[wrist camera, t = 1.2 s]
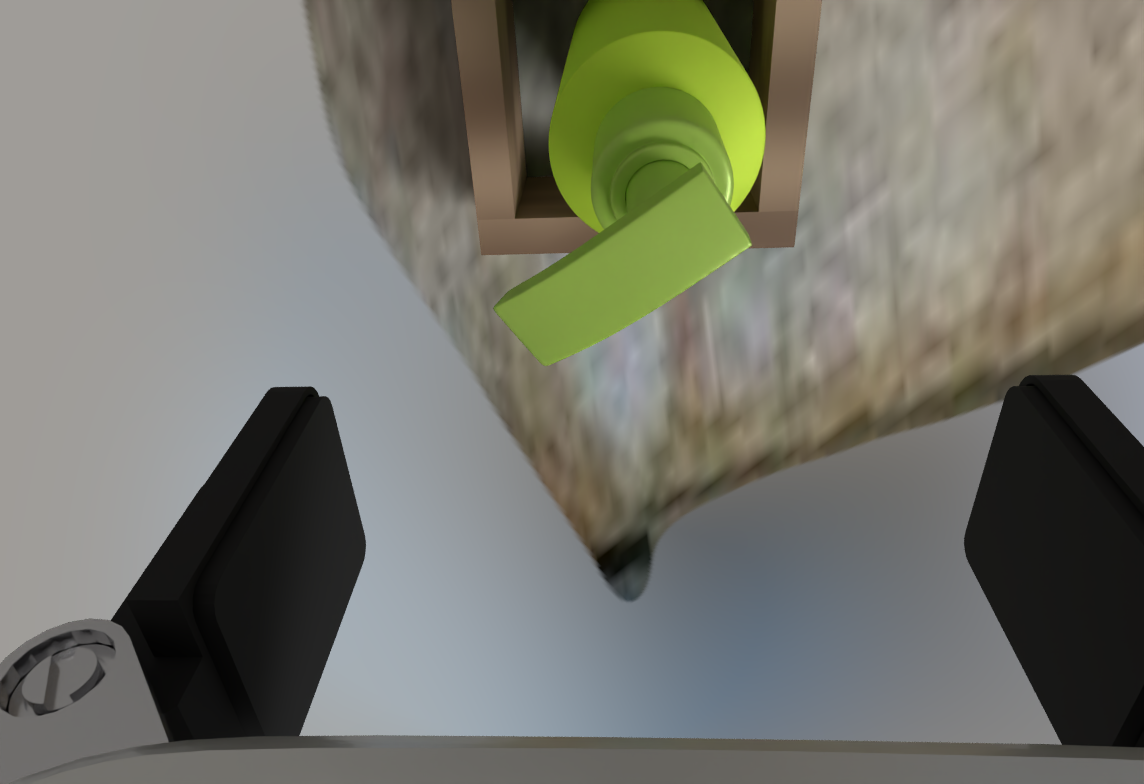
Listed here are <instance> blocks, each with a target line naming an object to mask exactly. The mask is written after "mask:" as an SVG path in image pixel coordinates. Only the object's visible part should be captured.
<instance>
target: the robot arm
mask: <svg viewBox="0 0 1144 784" xmlns="http://www.w3.org/2000/svg"><path fill="white" fill-rule="evenodd" d="M964 546H965V553H966V557H967V560H968V562H969V564H970V566H971V568H972V570H973V572H974V574H975V576H976V578H977V580H978V582H979V584H980V586H981V588H982V590H983V591H984V594H985V595H986V597H987V599H988V601H989V603H990V605H991V607H992V609H993V611H994V613H995V615H996V617H997V619H998V621H999V623H1000V624H1001V627H1002V628H1003V631H1004V632H1005V634H1006V636H1007V638H1008V640H1009V642H1010V644H1011V646H1012V648H1013V650H1014V652H1015V654H1016V656H1017V658H1018V660H1019V662H1020V663H1021V665H1022V668H1023V669H1024V671H1025V673H1026V675H1027V677H1028V679H1029V681H1030V683H1031V685H1032V687H1033V689H1034V691H1035V692H1036V694H1037V697H1038V699H1039V700H1040V702H1041V704H1042V706H1043V708H1044V710H1045V712H1046V714H1047V716H1048V718H1049V720H1050V722H1051V724H1052V726H1053V728H1054V730H1055V732H1056V734H1057V736H1058V738H1059V740H1060V741H1061V743H1062V745H1050V744H1003V743H1001V744H1000V743H950V742H949V743H948V742H893V741H842V740H839V741H838V740H774V739H701V738H700V739H699V738H696V739H695V738H622V737H619V738H618V737H517V736H516V737H515V736H386V735H385V736H383V735H373V736H299V735H300V733H301V730H302V727H303V724H304V722H305V719H306V716H307V713H308V711H309V708H310V705H311V703H312V700H313V697H314V695H315V692H316V689H317V686H318V684H319V681H320V678H321V676H322V673H323V670H324V667H325V665H326V662H327V659H328V657H329V654H330V651H331V648H332V646H333V643H334V640H335V638H336V635H337V632H338V630H339V627H340V624H341V621H342V619H343V616H344V613H345V611H346V608H347V605H348V602H349V600H350V597H351V594H352V592H353V588H354V586H355V583H356V581H357V578H358V575H359V573H360V570H361V567H362V564H363V561H364V557H365V549H366V540H365V535H364V530H363V526H362V522H361V518H360V515H359V510H358V506H357V503H356V499H355V495H354V491H353V487H352V483H351V479H350V475H349V471H348V467H347V463H346V459H345V455H344V451H343V447H342V443H341V439H340V435H339V431H338V427H337V423H336V419H335V416H334V411H333V407H332V404H331V401H330V400H329V398H328V397H326V396H322V397H319V395H318V392H317V391H316V390H315V389H314V388H313V387H274V388H271V389H270V390H268V392H267V393H266V394H265V396H264V397H263V399H262V400H261V402H260V403H259V405H258V406H257V408H256V409H255V411H254V412H253V414H252V415H251V416H250V418H249V419H248V421H247V422H246V424H245V425H244V427H243V428H242V430H241V431H240V433H239V434H238V436H237V437H236V439H235V440H234V442H233V443H232V445H231V446H230V447H229V449H228V450H227V452H226V453H225V455H224V456H223V458H222V459H221V461H220V462H219V464H218V465H217V467H216V468H215V470H214V471H213V472H212V474H211V475H210V477H209V479H208V480H207V481H206V483H205V484H204V485H203V486H202V487H201V489H200V490H199V491H198V493H197V494H196V496H195V497H194V499H193V500H192V502H191V503H190V505H189V506H188V508H187V509H186V511H185V512H184V513H183V515H182V517H181V518H180V519H179V521H178V522H177V524H176V525H175V527H174V528H173V530H172V531H171V533H170V534H169V535H168V537H167V539H166V540H165V541H164V543H163V544H162V546H161V547H160V549H159V550H158V552H157V553H156V555H155V556H154V558H153V559H152V561H151V562H150V564H149V565H148V566H147V568H146V569H145V571H144V572H143V574H142V575H141V577H140V578H139V580H138V581H137V583H136V584H135V586H134V587H133V588H132V590H131V592H130V593H129V594H128V596H127V597H126V599H125V600H124V602H123V603H122V605H121V606H120V608H119V609H118V610H117V612H116V613H115V615H114V616H113V618H112V619H111V621H109V620H102V619H101V620H100V619H85V620H79V621H73V622H68V623H65V624H63V625H60V626H57V627H55V628H52V629H49V630H46V631H45V632H43V633H41V634H39V635H37V636H36V637H34V638H32V639H30V640H28V641H26V642H25V643H24V644H22V645H21V646H20V647H19V648H17V649H16V650H15V651H13V652H12V653H11V654H10V655H8V656H7V657H6V658H5V659H4V660H3V661H2V662H1V664H0V784H1144V447H1143V446H1142V444H1141V443H1140V442H1139V441H1138V440H1137V439H1136V438H1135V437H1134V436H1133V435H1132V434H1131V433H1130V431H1129V430H1128V429H1127V428H1126V427H1125V426H1124V425H1123V424H1122V423H1121V422H1120V421H1119V420H1118V418H1117V417H1116V416H1115V415H1114V414H1113V413H1112V412H1111V411H1110V410H1109V409H1108V408H1107V407H1106V405H1105V404H1104V403H1103V402H1102V401H1101V400H1100V399H1099V398H1098V397H1097V396H1096V395H1095V394H1094V393H1093V391H1092V390H1091V389H1090V388H1089V387H1088V386H1087V385H1086V384H1085V383H1084V382H1083V381H1082V380H1081V379H1080V378H1079V377H1077V376H1076V375H1029V376H1027V377H1025V378H1024V379H1023V380H1022V381H1021V383H1020V385H1019V386H1013V387H1011V388H1010V389H1009V390H1008V391H1007V393H1006V396H1005V399H1004V402H1003V406H1002V409H1001V412H1000V416H999V420H998V423H997V426H996V430H995V433H994V437H993V440H992V443H991V447H990V450H989V453H988V457H987V460H986V464H985V467H984V471H983V474H982V477H981V481H980V484H979V488H978V491H977V495H976V498H975V502H974V505H973V508H972V512H971V515H970V518H969V522H968V525H967V529H966V533H965V538H964Z"/></svg>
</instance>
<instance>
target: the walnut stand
mask: <svg viewBox="0 0 1144 784" xmlns="http://www.w3.org/2000/svg"><path fill="white" fill-rule="evenodd" d="M451 4H452V12H453V21H454V29H455V37H456V46H457V54H458V62H459V71H460V79H461V88H462V96H463V104H464V113H465V121H466V129H467V138H468V146H469V155H470V163H471V171H472V180H473V188H474V196H475V205H476V213H477V222H478V230H479V238H480V247H481V255H504V254H543V253H571V252H572V251H574V250H575V249H577V248H578V247H580V246H581V245H583V244H584V243H586V242H587V241H589V240H590V239H591V238H593V237H594V236H596V235H597V234H599V233H598V232H597V231H595V230H594V229H592V228H591V227H589V226H588V225H587V224H586V223H584V222H583V221H582V220H581V219H580V218H579V217H578V216H577V215H576V214H575V213H574V212H573V210H572V209H571V208H570V207H569V205H568V204H567V202H566V201H565V199H564V198H563V196H562V194H561V192H560V190H559V188H558V186H557V184H556V181H555V178H554V176H545V177H527V172H526V160H525V147H524V135H523V122H522V110H521V98H520V85H519V73H518V61H517V48H516V36H515V24H514V11H513V0H451ZM821 5H822V0H754V8H753V22H752V37H751V51H750V65H749V77H750V79H751V81H752V82H753V84H754V86H755V88H756V90H757V93H758V95H759V98H760V101H761V104H762V108H763V112H764V118H765V127H766V140H765V150H764V156H763V160H762V164H761V167H760V170H759V173H758V176H757V178H756V180H755V182H754V184H753V186H752V188H751V190H750V192H749V193H748V195H747V196H746V198H745V199H744V201H743V202H742V203H741V205H740V206H739V207H738V208H737V209H736V210H735V211H734V213H735V214H736V216H737V217H738V219H739V220H740V222H741V223H742V225H743V226H744V228H745V229H746V231H747V232H748V234H749V237H750V240H751V243H752V246H750V247H749V248H779V247H794V244H795V235H796V227H797V218H798V209H799V200H800V191H801V182H802V173H803V164H804V156H805V147H806V138H807V129H808V120H809V111H810V102H811V93H812V85H813V76H814V67H815V58H816V49H817V40H818V31H819V22H820V14H821Z"/></svg>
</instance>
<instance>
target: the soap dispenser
mask: <svg viewBox="0 0 1144 784" xmlns="http://www.w3.org/2000/svg"><path fill="white" fill-rule="evenodd" d="M765 140H766V127H765V118H764V112H763V108H762V104H761V101H760V98H759V95H758V93H757V90H756V88H755V86H754V84H753V82H752V81H751V79H750V77H749V76H748V74H747V72H746V71H745V69H744V67H743V66H742V64H741V62H740V61H739V59H738V57H737V56H736V54H735V52H734V51H733V49H732V48H731V46H730V44H729V43H728V41H727V39H726V38H725V36H724V34H723V33H722V31H721V29H720V28H719V26H718V24H717V23H716V21H715V19H714V18H713V16H712V15H711V13H710V11H709V10H708V8H707V6H706V5H705V3H704V2H703V0H589V1H588V2H587V4H586V5H585V7H584V8H583V10H582V12H581V14H580V16H579V18H578V20H577V23H576V26H575V29H574V33H573V37H572V40H571V44H570V48H569V52H568V56H567V60H566V64H565V68H564V71H563V75H562V79H561V83H560V87H559V91H558V95H557V99H556V102H555V106H554V110H553V114H552V118H551V123H550V129H549V157H550V164H551V168H552V172H553V176H554V178H555V181H556V184H557V186H558V188H559V190H560V192H561V194H562V196H563V198H564V199H565V201H566V202H567V204H568V205H569V207H570V208H571V209H572V210H573V212H574V213H575V214H576V215H577V216H578V217H579V218H580V219H581V220H582V221H583V222H584V223H586V224H587V225H588V226H589V227H591V228H592V229H594V230H595V231H597V232H598V233H599V234H597V235H596V236H594V237H593V238H591V239H590V240H589V241H587V242H586V243H584V244H583V245H581V246H580V247H578V248H577V249H575V250H574V251H572V252H571V253H569V254H568V255H566V256H565V257H563V258H562V259H560V260H559V261H557V262H556V263H554V264H553V265H551V266H550V267H548V268H546V269H545V270H543V271H542V272H540V273H538V274H537V275H535V276H533V277H532V278H530V279H528V280H526V281H525V282H523V283H521V284H519V285H518V286H516V287H514V288H513V289H511V290H509V291H508V292H507V293H506V294H505V295H504V296H503V297H502V298H501V299H500V301H499V302H498V303H497V304H496V305H495V306H494V308H493V309H494V311H495V312H496V313H497V315H498V316H499V317H500V318H501V319H502V320H503V321H504V323H505V324H506V325H507V326H508V327H509V328H510V329H511V331H512V332H513V333H514V334H515V335H516V336H517V337H518V339H519V340H520V341H521V342H522V343H523V344H524V345H525V346H526V348H527V349H528V350H529V351H530V352H531V353H532V354H533V355H534V356H535V358H536V359H537V360H538V361H539V362H540V363H541V364H542V365H544V366H548V365H551V364H553V363H556V362H558V361H560V360H562V359H565V358H567V357H569V356H571V355H573V354H575V353H578V352H580V351H582V350H584V349H586V348H588V347H590V346H592V345H594V344H596V343H598V342H600V341H602V340H604V339H606V338H607V337H609V336H611V335H613V334H615V333H617V332H618V331H620V330H622V329H624V328H625V327H627V326H629V325H631V324H632V323H634V322H636V321H637V320H639V319H641V318H642V317H644V316H646V315H647V314H649V313H650V312H652V311H654V310H655V309H657V308H658V307H660V306H662V305H663V304H665V303H666V302H668V301H669V300H671V299H672V298H674V297H676V296H677V295H679V294H680V293H682V292H683V291H685V290H686V289H688V288H689V287H691V286H692V285H694V284H695V283H697V282H698V281H700V280H701V279H703V278H704V277H706V276H707V275H709V274H710V273H712V272H713V271H715V270H716V269H718V268H719V267H721V266H722V265H724V264H725V263H727V262H728V261H730V260H731V259H733V258H734V257H736V256H737V255H739V254H740V253H742V252H743V251H745V250H746V249H747V248H749V247H750V246H752V243H751V240H750V237H749V234H748V232H747V231H746V229H745V228H744V226H743V225H742V223H741V222H740V220H739V219H738V217H737V216H736V214H735V213H734V211H735V210H736V209H737V208H738V207H739V206H740V205H741V203H742V202H743V201H744V199H745V198H746V196H747V195H748V193H749V192H750V190H751V188H752V186H753V184H754V182H755V180H756V178H757V176H758V173H759V170H760V167H761V164H762V160H763V156H764V150H765Z"/></svg>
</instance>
